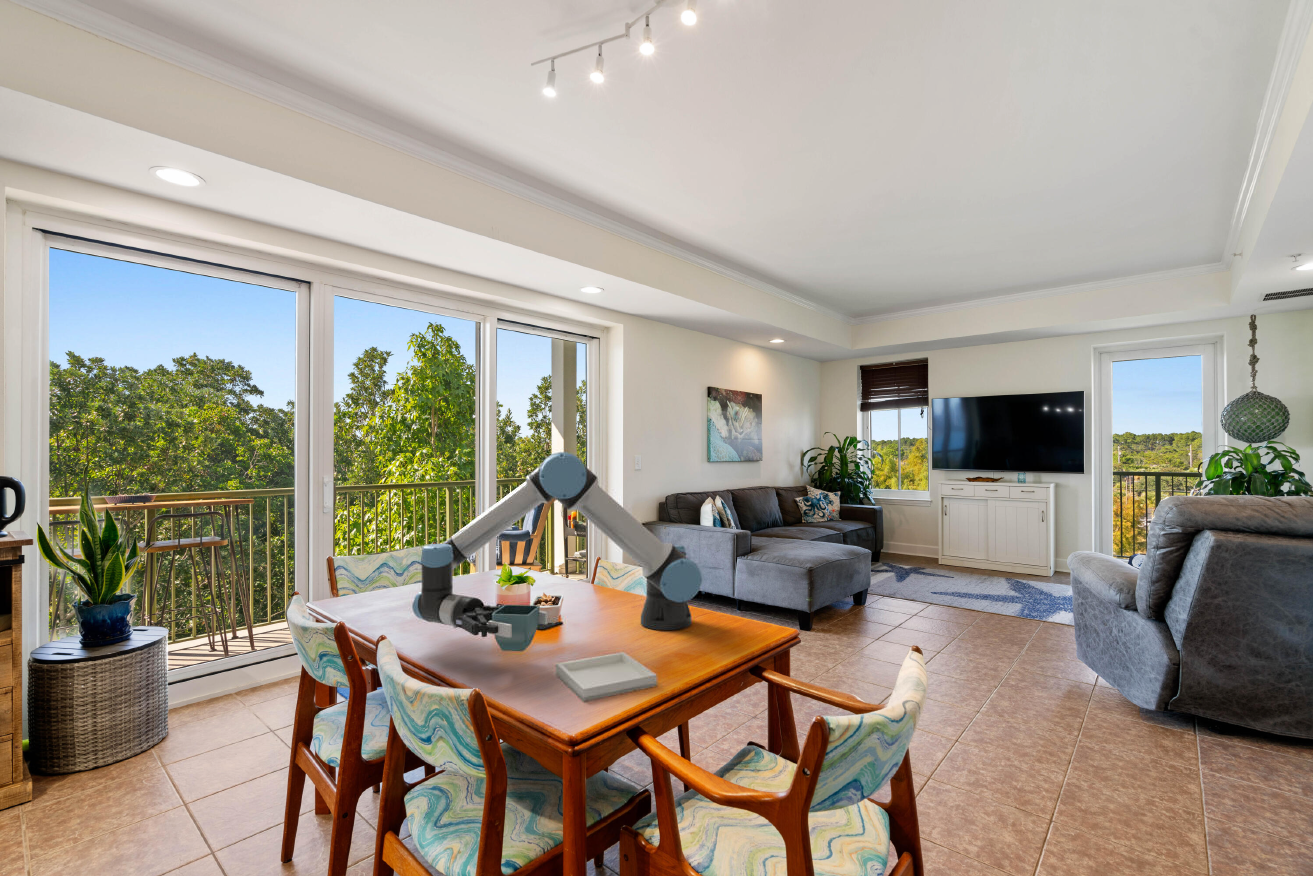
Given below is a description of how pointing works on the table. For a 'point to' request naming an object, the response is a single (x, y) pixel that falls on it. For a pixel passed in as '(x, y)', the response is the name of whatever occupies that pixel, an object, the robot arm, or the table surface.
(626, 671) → the tray
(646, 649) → the table surface
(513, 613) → the flower pot
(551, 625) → the cell phone
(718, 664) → the table surface
